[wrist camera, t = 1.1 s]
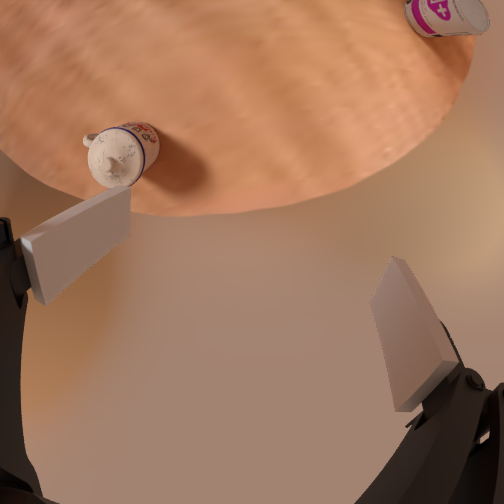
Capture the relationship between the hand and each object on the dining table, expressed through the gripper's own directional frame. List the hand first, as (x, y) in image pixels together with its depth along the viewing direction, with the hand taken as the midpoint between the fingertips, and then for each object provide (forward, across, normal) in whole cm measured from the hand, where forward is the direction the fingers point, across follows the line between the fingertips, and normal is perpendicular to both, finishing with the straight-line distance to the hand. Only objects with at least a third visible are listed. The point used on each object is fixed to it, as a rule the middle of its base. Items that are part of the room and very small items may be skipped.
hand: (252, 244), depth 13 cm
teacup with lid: (+28, -26, -1) cm, 38 cm away
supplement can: (+35, +17, +35) cm, 52 cm away
